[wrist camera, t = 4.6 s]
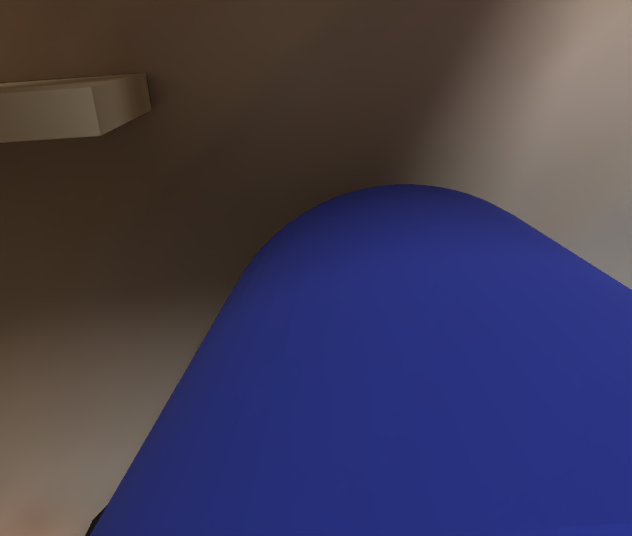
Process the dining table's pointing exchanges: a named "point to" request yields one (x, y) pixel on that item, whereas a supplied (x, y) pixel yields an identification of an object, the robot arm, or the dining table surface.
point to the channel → (70, 106)
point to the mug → (398, 386)
